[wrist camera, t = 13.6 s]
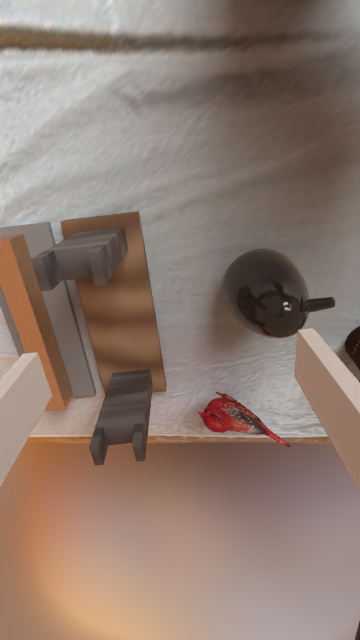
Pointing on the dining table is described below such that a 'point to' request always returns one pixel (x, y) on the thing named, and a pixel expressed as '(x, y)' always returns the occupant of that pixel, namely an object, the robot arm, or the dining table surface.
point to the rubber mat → (54, 313)
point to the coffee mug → (354, 346)
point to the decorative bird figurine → (234, 418)
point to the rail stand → (112, 320)
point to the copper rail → (32, 316)
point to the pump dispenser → (269, 294)
